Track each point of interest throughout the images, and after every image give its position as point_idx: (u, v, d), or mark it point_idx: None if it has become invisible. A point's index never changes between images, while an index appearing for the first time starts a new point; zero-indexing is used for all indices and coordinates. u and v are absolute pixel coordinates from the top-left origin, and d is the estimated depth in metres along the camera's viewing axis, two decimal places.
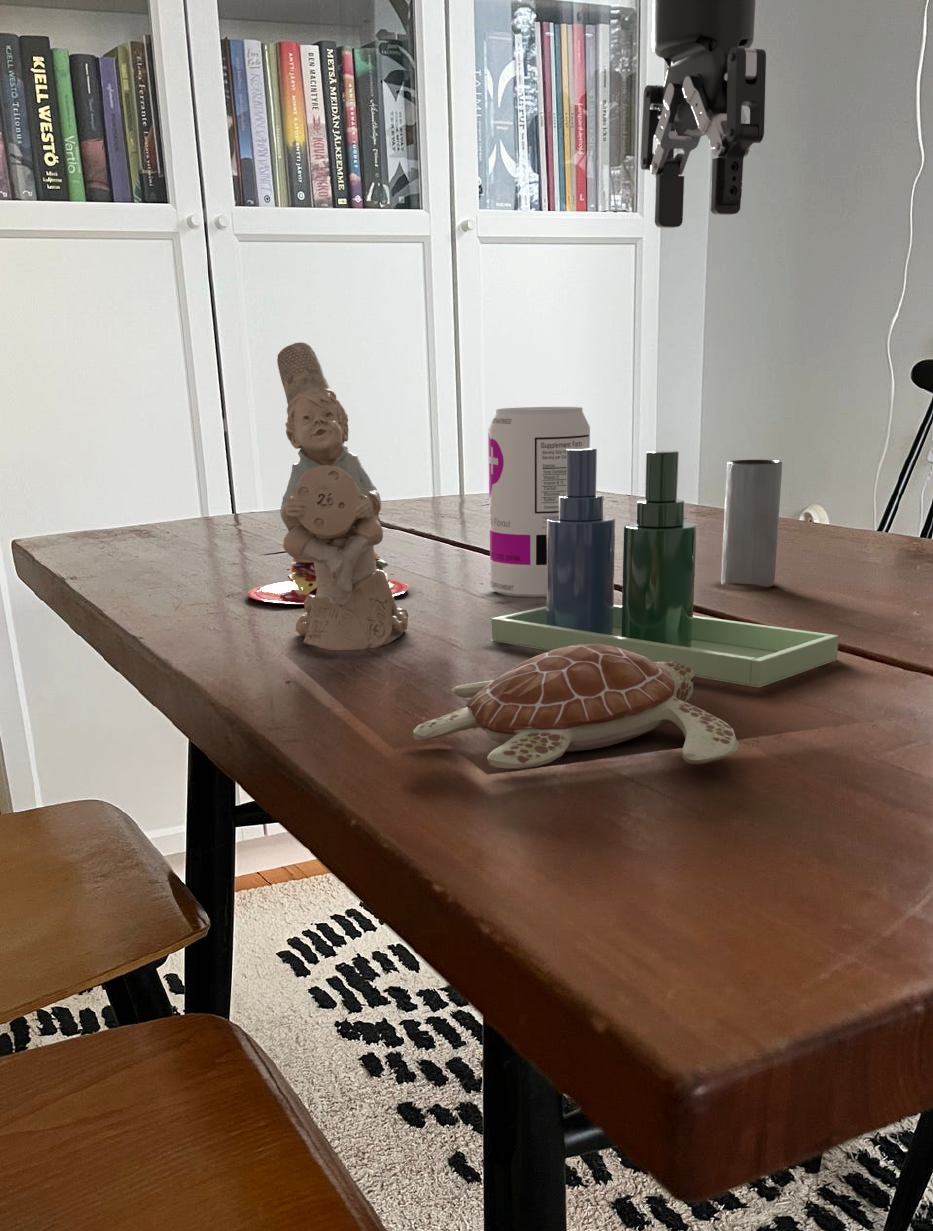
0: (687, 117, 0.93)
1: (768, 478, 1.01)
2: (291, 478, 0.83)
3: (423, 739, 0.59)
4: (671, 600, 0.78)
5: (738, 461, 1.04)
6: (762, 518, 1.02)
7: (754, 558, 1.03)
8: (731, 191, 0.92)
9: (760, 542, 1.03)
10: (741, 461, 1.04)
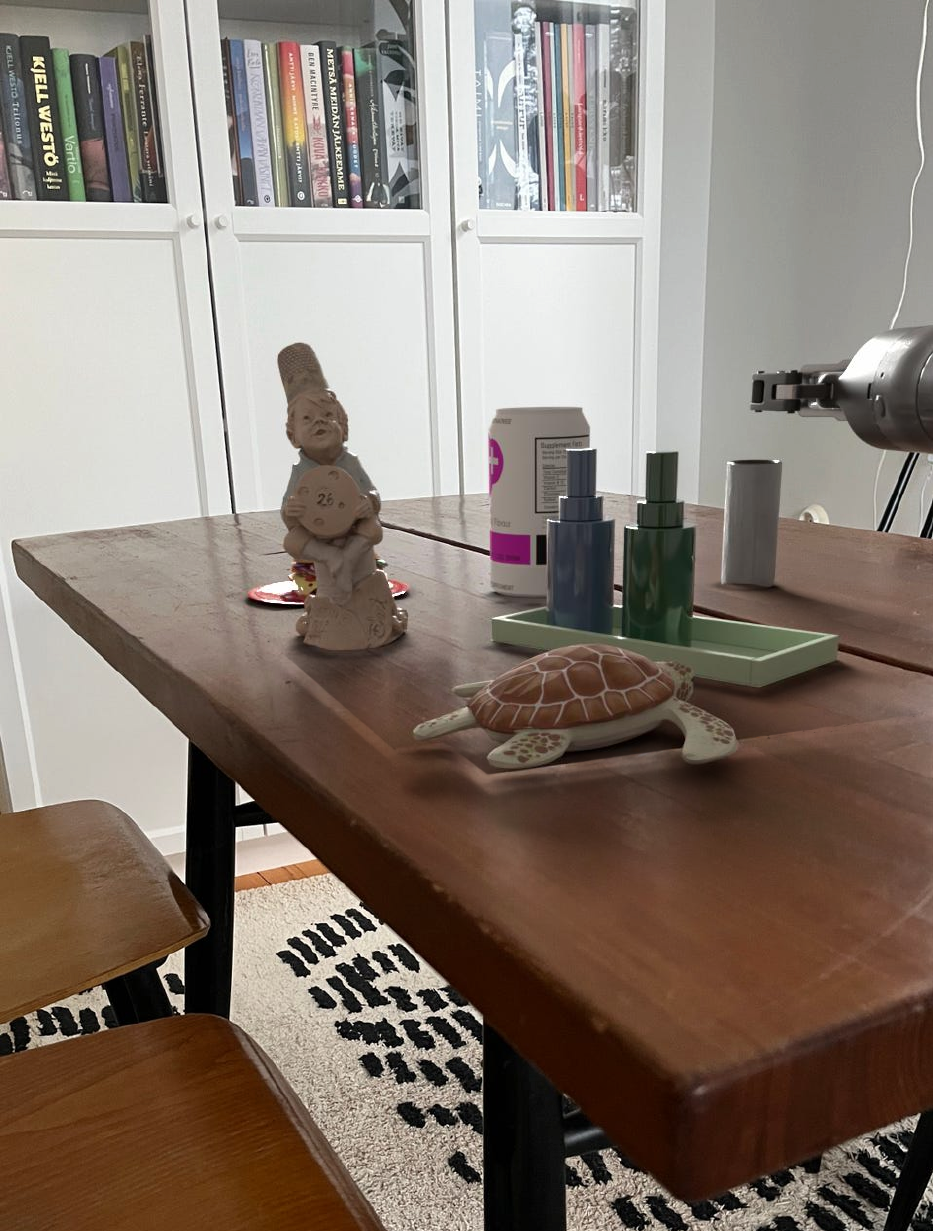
0: None
1: (768, 478, 1.01)
2: (291, 478, 0.83)
3: (423, 739, 0.59)
4: (671, 600, 0.78)
5: (738, 461, 1.04)
6: (762, 518, 1.02)
7: (754, 558, 1.03)
8: None
9: (760, 542, 1.03)
10: (741, 461, 1.04)
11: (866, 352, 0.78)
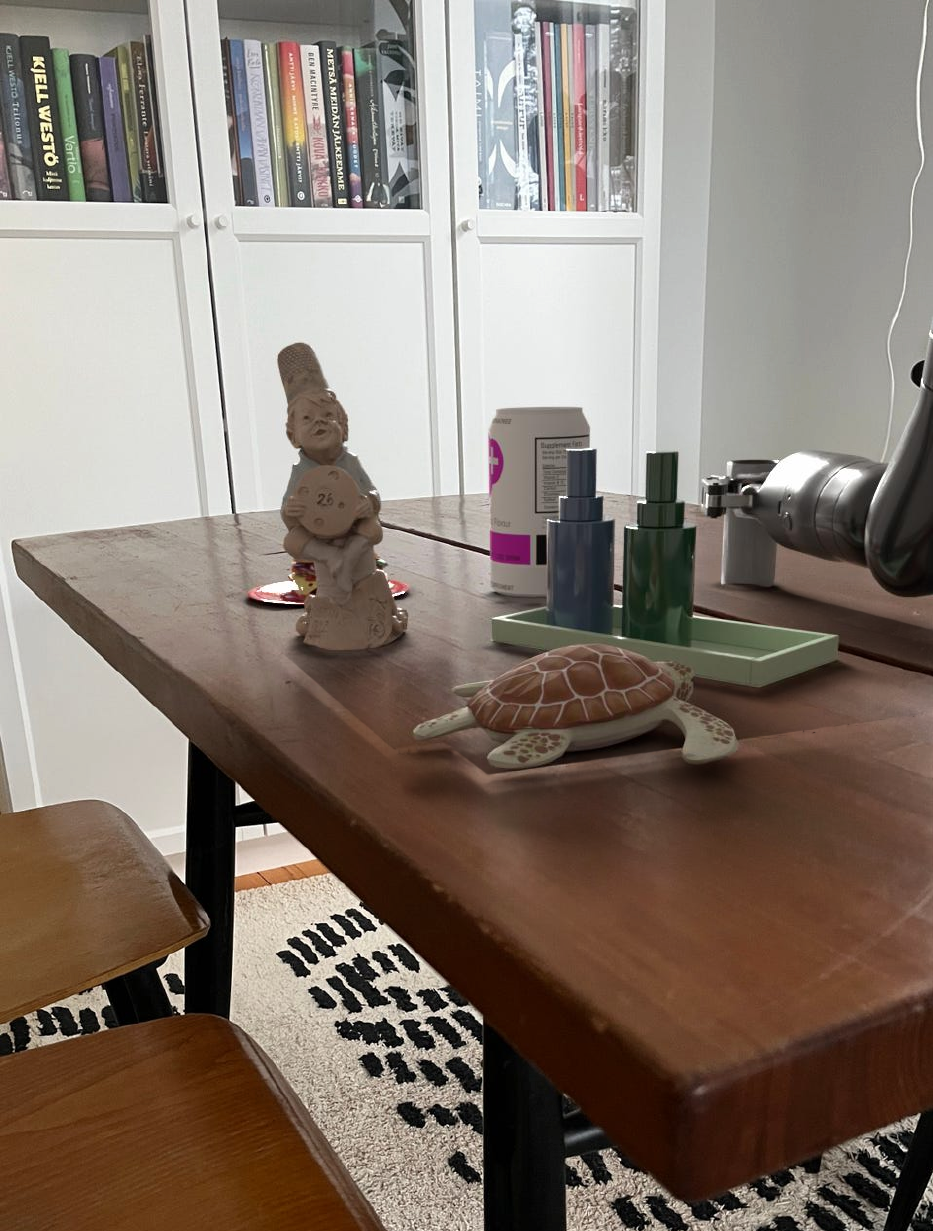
0: None
1: None
2: (291, 478, 0.83)
3: (423, 739, 0.59)
4: (671, 600, 0.78)
5: (738, 461, 1.04)
6: None
7: (754, 558, 1.03)
8: None
9: (760, 542, 1.03)
10: (741, 461, 1.04)
11: (778, 472, 0.92)
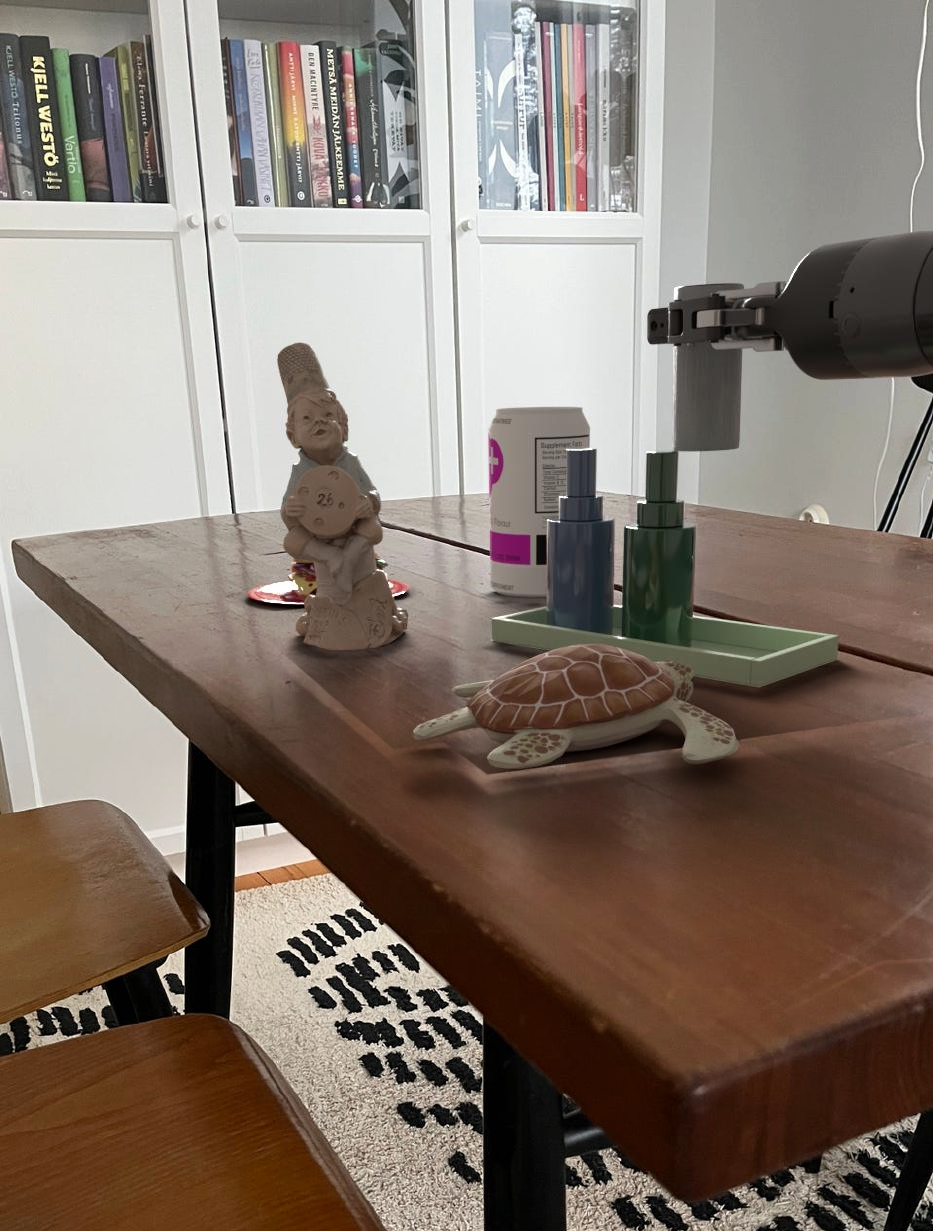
0: None
1: (736, 303, 0.79)
2: (291, 478, 0.83)
3: (423, 739, 0.59)
4: (671, 600, 0.78)
5: None
6: (732, 356, 0.80)
7: (724, 409, 0.81)
8: None
9: (730, 388, 0.81)
10: None
11: (811, 269, 0.70)
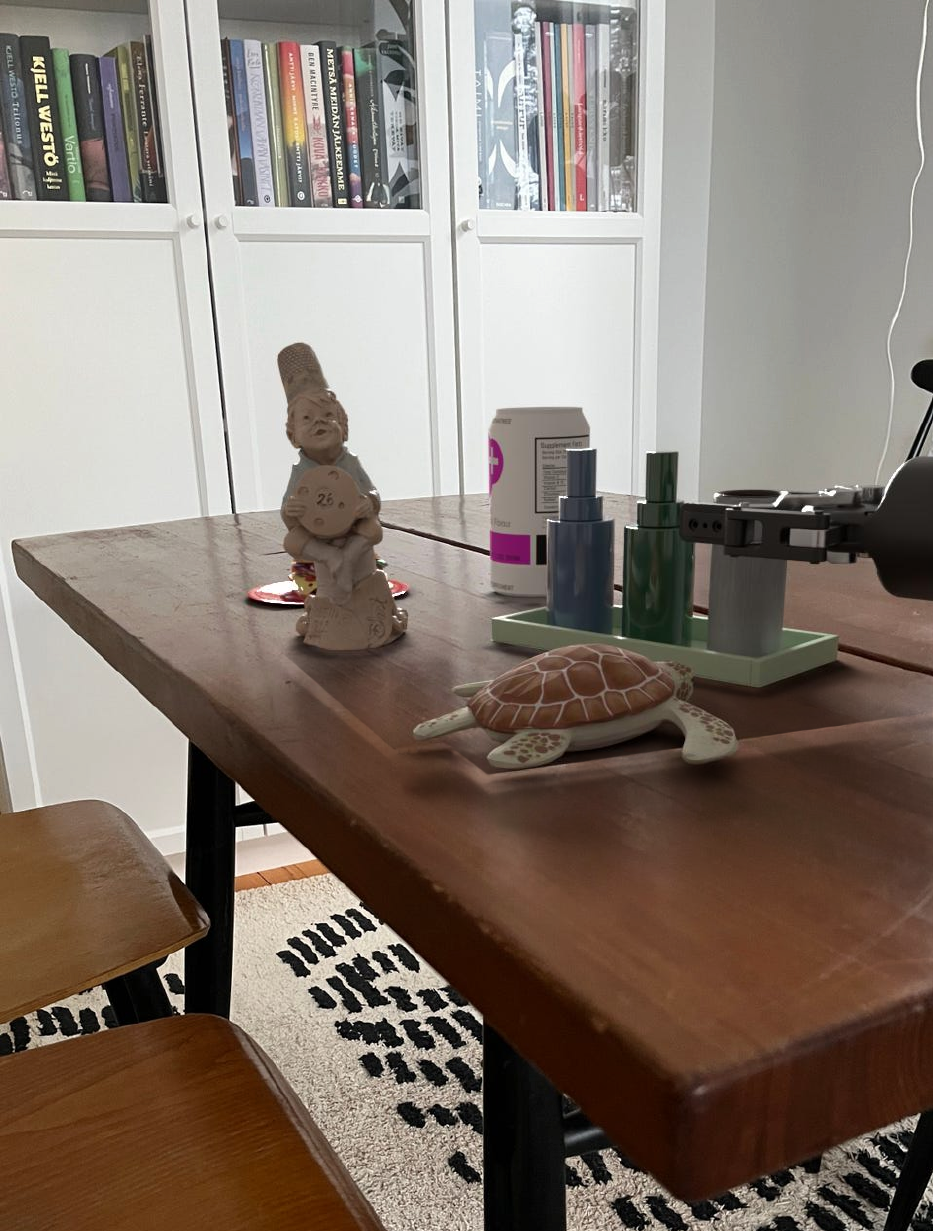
0: None
1: None
2: (291, 478, 0.83)
3: (423, 739, 0.59)
4: (671, 600, 0.78)
5: (720, 494, 0.74)
6: (781, 571, 0.73)
7: (772, 627, 0.74)
8: None
9: (778, 604, 0.74)
10: (722, 493, 0.74)
11: (911, 490, 0.63)
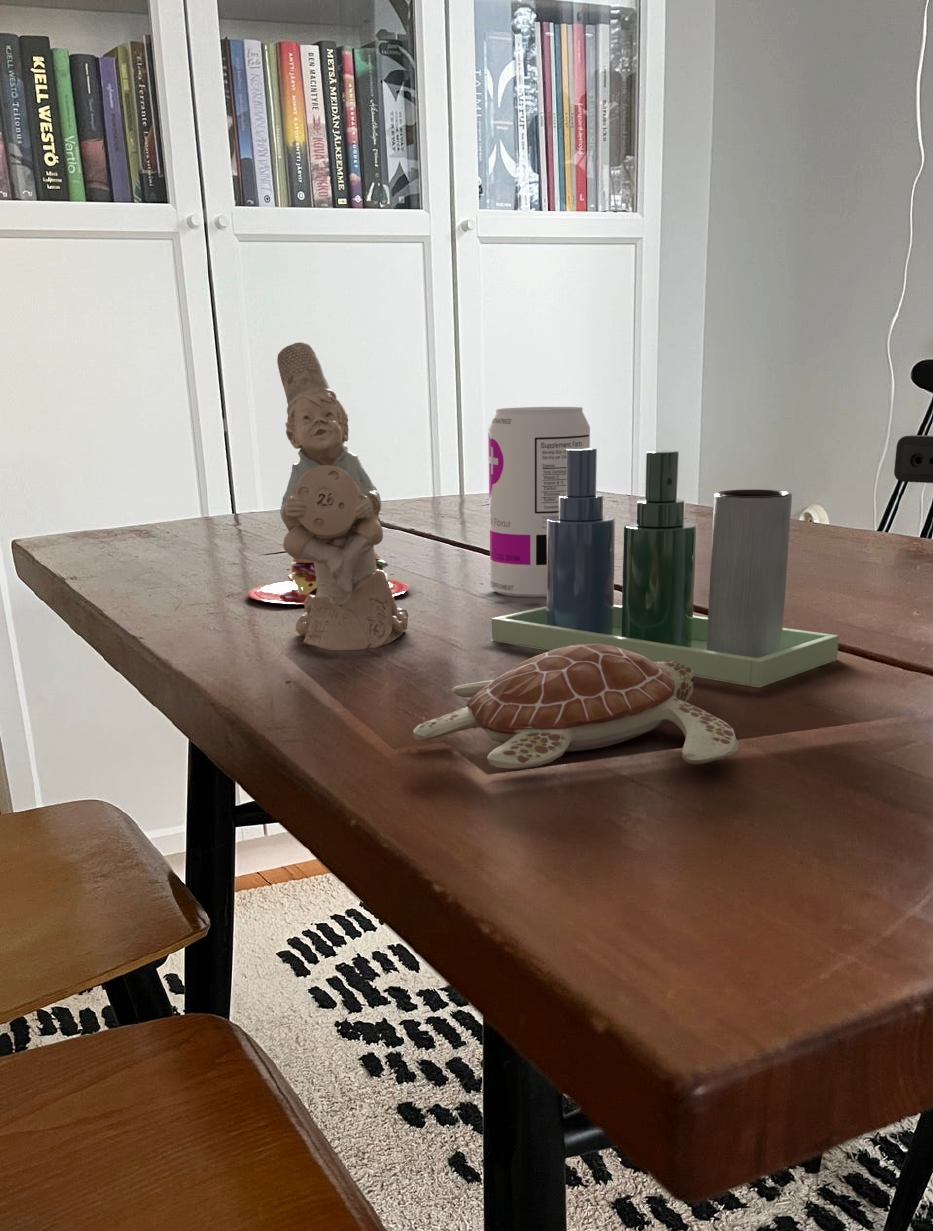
0: None
1: (787, 515, 0.72)
2: (291, 478, 0.83)
3: (423, 739, 0.59)
4: (671, 600, 0.78)
5: (720, 494, 0.74)
6: (781, 571, 0.73)
7: (772, 627, 0.74)
8: None
9: (778, 604, 0.74)
10: (722, 493, 0.74)
11: None
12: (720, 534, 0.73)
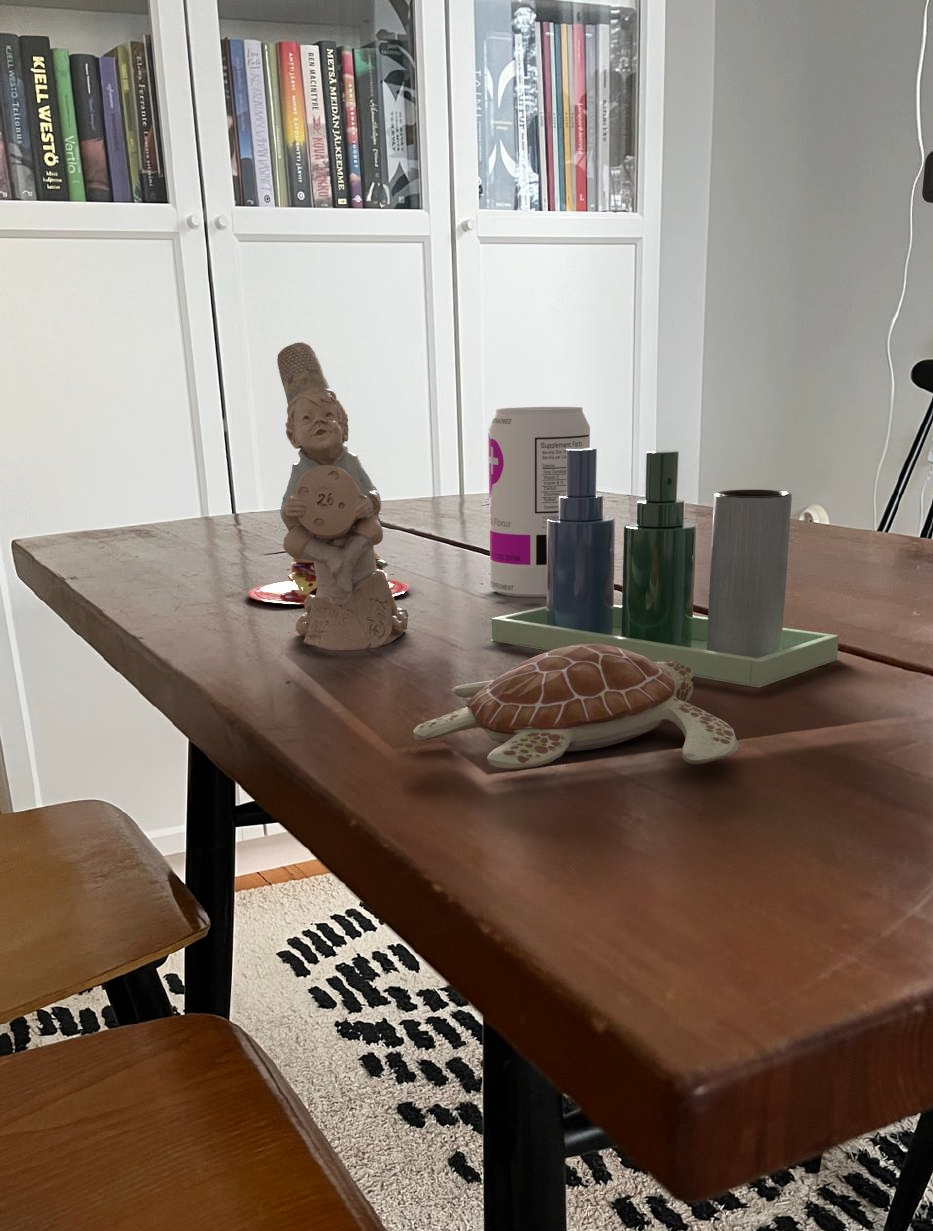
0: None
1: (787, 515, 0.72)
2: (291, 478, 0.83)
3: (423, 739, 0.59)
4: (671, 600, 0.78)
5: (720, 494, 0.74)
6: (781, 571, 0.73)
7: (772, 627, 0.74)
8: None
9: (778, 604, 0.74)
10: (722, 493, 0.74)
11: None
12: (720, 534, 0.73)
